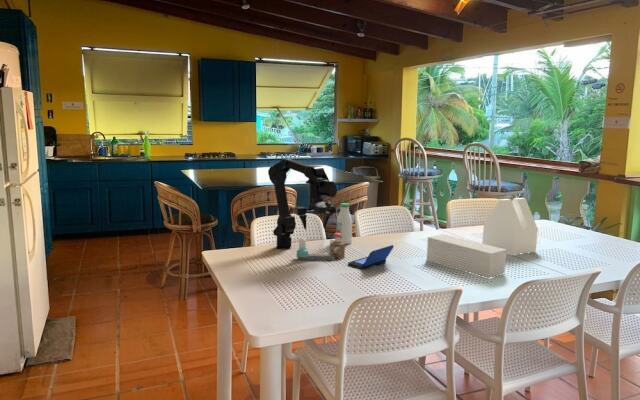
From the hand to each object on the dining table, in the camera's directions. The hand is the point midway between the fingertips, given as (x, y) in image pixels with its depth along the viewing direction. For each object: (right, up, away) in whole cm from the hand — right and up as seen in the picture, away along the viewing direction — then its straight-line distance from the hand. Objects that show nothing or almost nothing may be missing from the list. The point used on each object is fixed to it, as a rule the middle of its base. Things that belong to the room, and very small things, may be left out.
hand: (314, 228), depth 223 cm
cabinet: (+10, -12, +4) cm, 16 cm away
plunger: (+10, -6, +3) cm, 12 cm away
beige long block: (+64, -16, -11) cm, 67 cm away
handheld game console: (+24, -16, -11) cm, 30 cm away
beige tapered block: (+95, -11, +20) cm, 97 cm away
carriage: (-6, -12, -4) cm, 13 cm away
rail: (0, -13, -3) cm, 14 cm away
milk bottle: (+14, -9, +27) cm, 32 cm away
